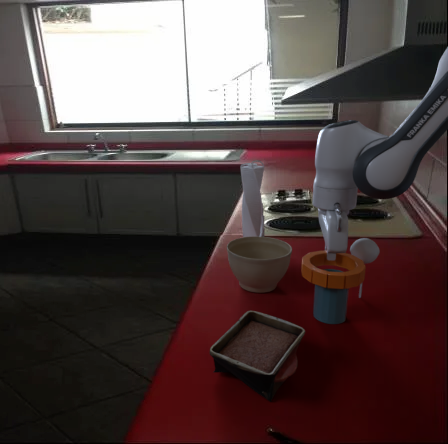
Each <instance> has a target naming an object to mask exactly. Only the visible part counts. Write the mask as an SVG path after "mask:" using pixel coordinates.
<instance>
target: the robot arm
mask: <svg viewBox="0 0 448 444" xmlns="http://www.w3.org/2000/svg"><path fill="white" fill-rule="evenodd" d="M447 131H448V46H447V47H446V48H445V50H444V52H443V54H442V55H441V57H440V59H439V61H438V65H437V70H436V73H435V76H434V79H433V81H432V84H431V86H430V87H429V89H428V91H427V92H426V93H425V95H424V97H423V98H422V100H421V101H420V102H419V103H418V104H417V105H416V106H415V108H414V109H413V110H412V111H411V112H410V113H409V114H408V116H407V117H406V118H405V119H404V121H403V122H402V123H400V125H399V126H398V128H397V129H396V130H395V131H394V132H393V133H392V134H391V135H387V134H383V133H381V132H377V131H375V130H373V129H371V128H369V127H367V126H365V125H364V124H363V123H362V122H360V121H359V120H355V119H350V120H342V121H336V122H333V123H330V124H328V125H326V126H324V127H323V128H322V129H321V130H320V131H319V133H318V136H317V140H316V147H315V156H314V167H315V176H314V177H315V178H314V180H313V188H312V189H313V190H312V206H314V208H317V213H318V223H319V227H320V230H321V232H322V236H323V240H324V251H327V255H326V257H327V260H332V261H334V260H335V259H336V253H347V250H348V243H349V217H348V215H349V214H350V210H353V209H355V208H357V200H358V191H360V192H361V193H362V194H363V195H365V196H367V197H369V198H371V199H375V200H390V199H391V200H392V199H394V198H397V197H399V196H401V195H403V194H404V193H406V192H407V191H408V190H409V189H410V188H411V186H412V185H413V184H414V182H415V179H416V177H417V174H418V170H419V167H420V166H421V163H422V160H423V159H424V157H425V156H426V155H427V153H428V152H429V151H430V150H431V148H433V146H434V145H435V144H436V143H437V142H438V141H439V140H440V138H441V137H442V136H443V135H444V134H445V133H446V132H447Z"/></svg>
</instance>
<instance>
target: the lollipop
mask: <svg viewBox="0 0 448 444" xmlns="http://www.w3.org/2000/svg"><path fill="white" fill-rule="evenodd" d="M349 252H350V254H351V255H354V256H356V257H357V258H359V259H361V260H362V261H363V262H364V264H365V265H366V264H371V263H373V262H374V261H376V260H377V258H378V256H379V255H380V248H379V246H378V244H377V242H376V241H374V240H372V239H370V238H367V237H362V238H359V239H356V240H354V242H353V243H352V244H351V245H350V248H349ZM363 283H364V281H363V282H362V283H361V284H360V285H359V291H358V292H359V293H358V298H359V299H361V298H362V292H363Z"/></svg>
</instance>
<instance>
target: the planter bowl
mask: <svg viewBox="0 0 448 444" xmlns="http://www.w3.org/2000/svg"><path fill="white" fill-rule="evenodd" d="M226 252H227V259H228V264H229V268H230V270H231V272H232V274H233V275H234V277H235V278H236V280H237V281H238V284H239V286H240V288H242V289H243V290H245V291H248V292H251V293H256V294H257V293H258V294H263V293H264V294H265V293H270V292H272V291H274V290H275V289H276V288H277V285H278V283H279V282H280V281H282V279H283V278H284V276H285V275H286V274H287V271H288V269H289V266H290V263H291V257H292V253H293V247H292V245H290V244H289V243H288V242H286V241H284V240H281V239H278V238H274V237H270V236H264V237H257V236H252V237H243V236H242V237H238V238H234V239H232V240H231V241H229V242H228V243H227V245H226Z"/></svg>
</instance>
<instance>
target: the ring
mask: <svg viewBox="0 0 448 444" xmlns="http://www.w3.org/2000/svg"><path fill="white" fill-rule="evenodd" d="M326 255H327V251H325V249H324V250H316V251H311V252H308V253H307V254H305V255H304V256H302V258H301V267H300V269H301V277H302V278H304V279H305V280H307V281H308V282H309V283H311V284H313V285H315V284H316V285H319V286H322V287H325V288H326V287H328V288H335V289H343V288H344V289H347V288H349V289H351V288H357V287H360V284H361V283H362V282H363V283H364V281H365V277H366V268H367V266H366V264H364V262H363V261H362V260H361V259H359V258H357V257H356V256H354V255H351V253H347V252H346V253H336V259H335V260H334V261H332V260H327V257H326ZM321 266H331V267H333V266H335V267H339V268H342V269H346V271H343V272H329V271H325V270H322V269H321V268H318V267H321ZM363 283H362V284H363Z"/></svg>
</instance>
